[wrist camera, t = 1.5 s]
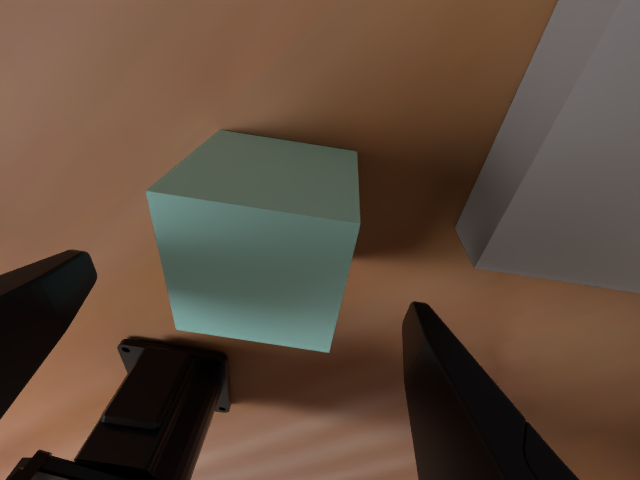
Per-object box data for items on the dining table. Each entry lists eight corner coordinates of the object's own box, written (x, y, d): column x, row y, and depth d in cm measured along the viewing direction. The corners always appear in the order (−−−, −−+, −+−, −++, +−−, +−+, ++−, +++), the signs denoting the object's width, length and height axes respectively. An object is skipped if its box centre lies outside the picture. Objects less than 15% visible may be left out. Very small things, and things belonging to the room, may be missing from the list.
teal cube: (335, 257, 14) (329, 352, 10) (226, 240, 14) (175, 329, 10) (357, 150, 11) (360, 223, 7) (220, 129, 11) (145, 190, 7)
